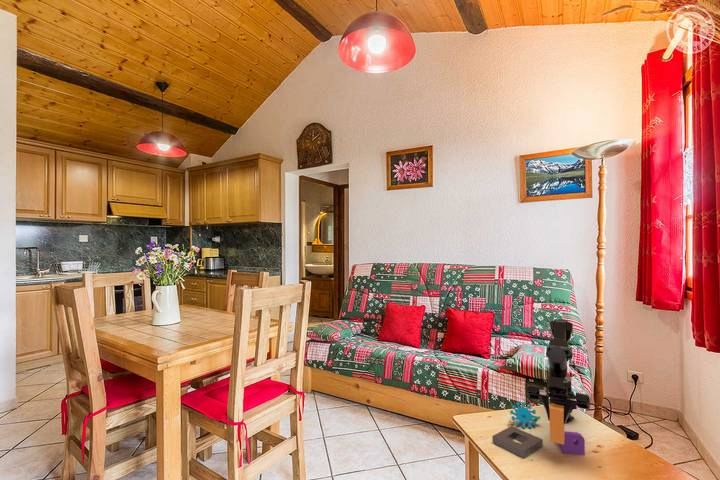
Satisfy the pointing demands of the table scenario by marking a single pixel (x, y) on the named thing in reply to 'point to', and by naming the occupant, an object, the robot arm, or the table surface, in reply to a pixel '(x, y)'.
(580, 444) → the bracket
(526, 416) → the gear
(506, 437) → the slotted square tile
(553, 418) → the tall orange pillar
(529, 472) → the table surface
